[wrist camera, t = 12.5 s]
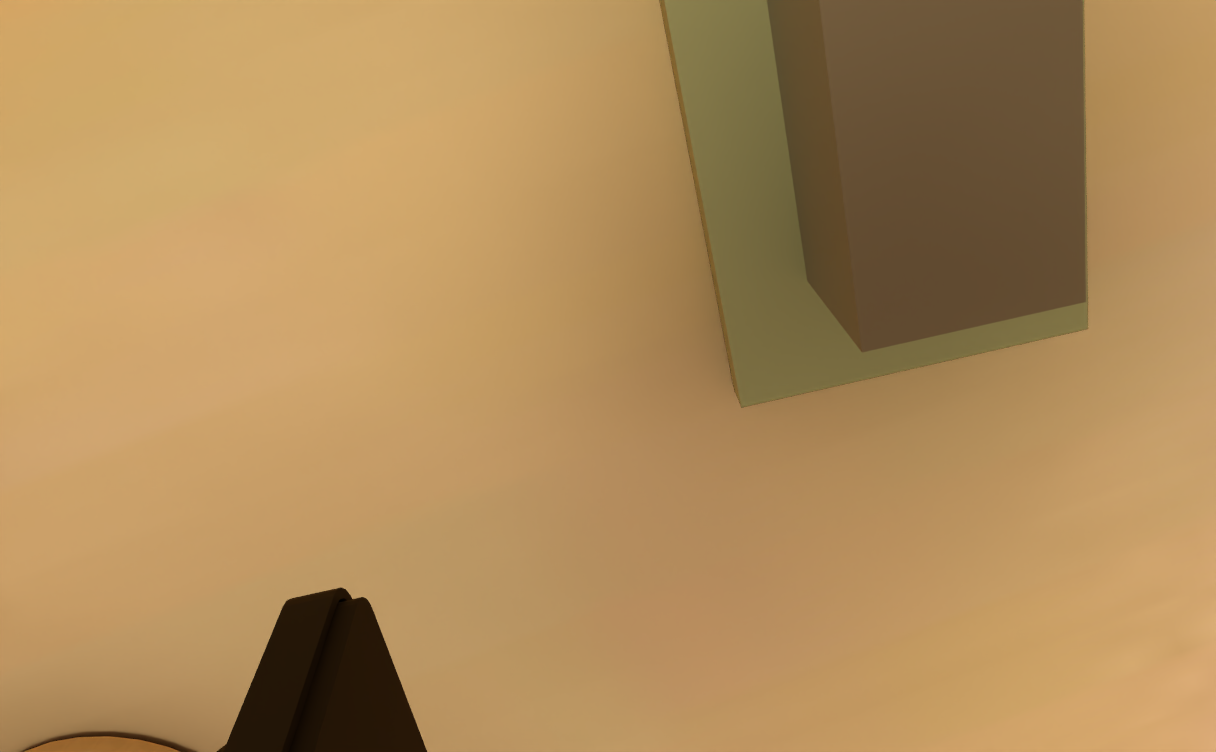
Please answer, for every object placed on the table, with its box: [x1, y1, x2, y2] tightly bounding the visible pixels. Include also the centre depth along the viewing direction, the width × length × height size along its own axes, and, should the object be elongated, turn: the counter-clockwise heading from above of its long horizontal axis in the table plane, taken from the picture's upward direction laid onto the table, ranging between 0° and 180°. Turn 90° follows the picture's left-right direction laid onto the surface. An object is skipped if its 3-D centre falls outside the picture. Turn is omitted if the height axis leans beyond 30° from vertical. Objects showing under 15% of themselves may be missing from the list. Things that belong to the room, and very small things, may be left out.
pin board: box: [660, 0, 1088, 408], centre depth 27 cm, size 20×12×5 cm, turn 13°
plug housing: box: [767, 0, 1086, 352], centre depth 25 cm, size 12×6×6 cm, turn 13°
